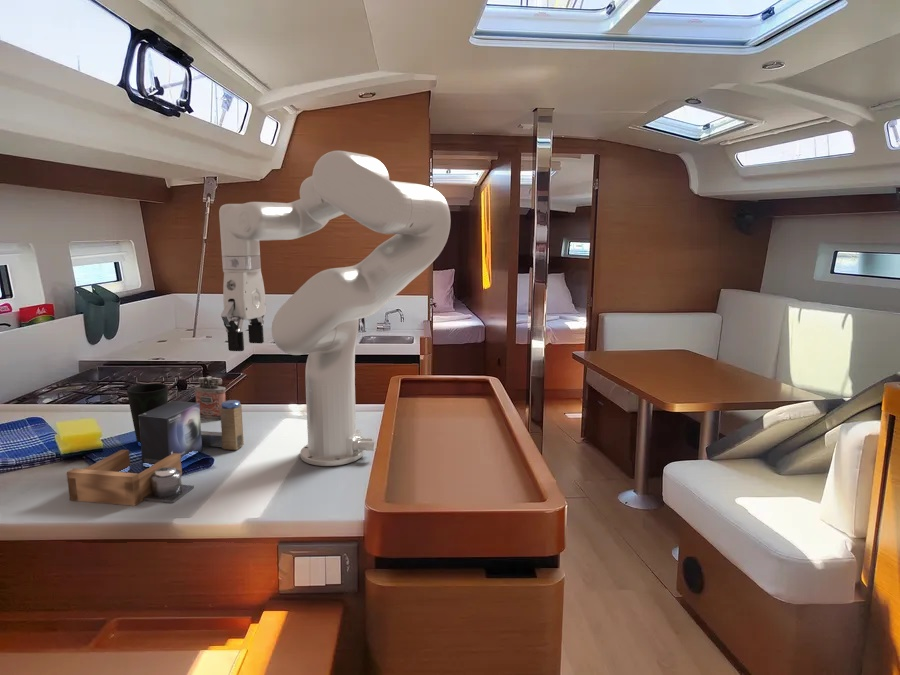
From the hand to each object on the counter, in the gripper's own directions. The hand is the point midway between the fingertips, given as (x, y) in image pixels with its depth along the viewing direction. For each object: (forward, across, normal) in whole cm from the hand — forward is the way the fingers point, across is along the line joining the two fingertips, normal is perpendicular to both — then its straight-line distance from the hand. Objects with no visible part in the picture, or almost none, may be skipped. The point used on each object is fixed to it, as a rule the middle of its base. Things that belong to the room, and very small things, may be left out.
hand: (246, 346), depth 128 cm
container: (+20, -8, +6) cm, 22 cm away
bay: (+20, -28, +9) cm, 36 cm away
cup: (+20, -8, +19) cm, 28 cm away
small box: (+20, -15, +9) cm, 27 cm away
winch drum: (+20, -30, 0) cm, 36 cm away
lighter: (+20, +10, +16) cm, 27 cm away
